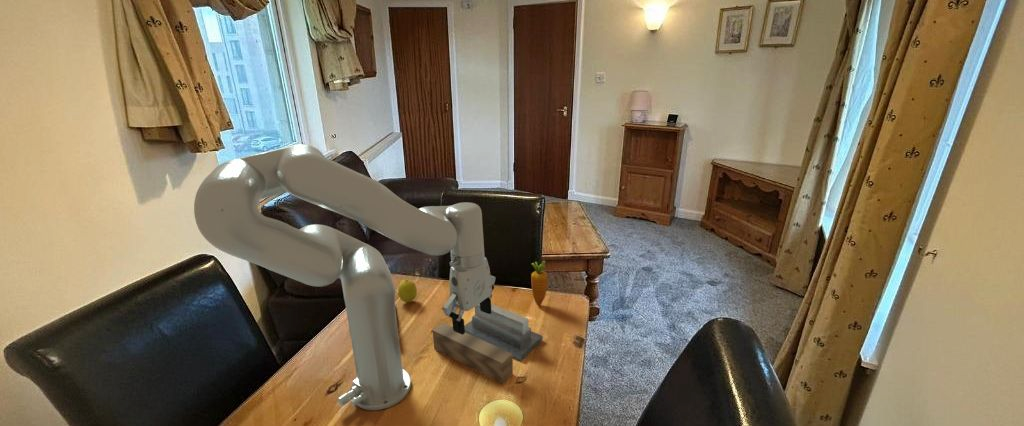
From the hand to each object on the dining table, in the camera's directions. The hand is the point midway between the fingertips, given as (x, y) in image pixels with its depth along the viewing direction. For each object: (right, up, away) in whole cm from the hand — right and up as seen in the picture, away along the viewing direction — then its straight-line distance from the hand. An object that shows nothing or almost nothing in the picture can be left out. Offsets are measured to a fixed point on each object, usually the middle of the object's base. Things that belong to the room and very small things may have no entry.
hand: (473, 321), depth 97 cm
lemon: (-23, -2, +29) cm, 37 cm away
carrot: (+18, -3, +27) cm, 32 cm away
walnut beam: (-1, -11, +3) cm, 11 cm away
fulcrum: (+6, -7, +12) cm, 16 cm away
